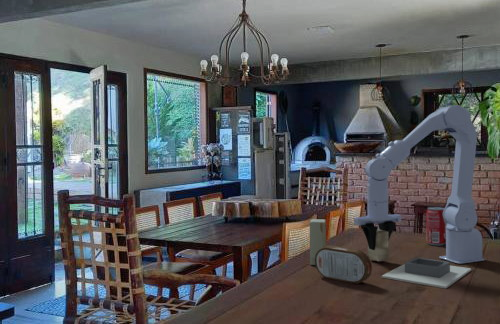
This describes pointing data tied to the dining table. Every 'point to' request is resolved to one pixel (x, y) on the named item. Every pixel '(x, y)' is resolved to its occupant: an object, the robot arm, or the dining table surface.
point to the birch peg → (380, 247)
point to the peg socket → (428, 272)
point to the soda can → (435, 226)
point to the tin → (343, 264)
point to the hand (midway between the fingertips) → (378, 248)
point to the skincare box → (317, 237)
